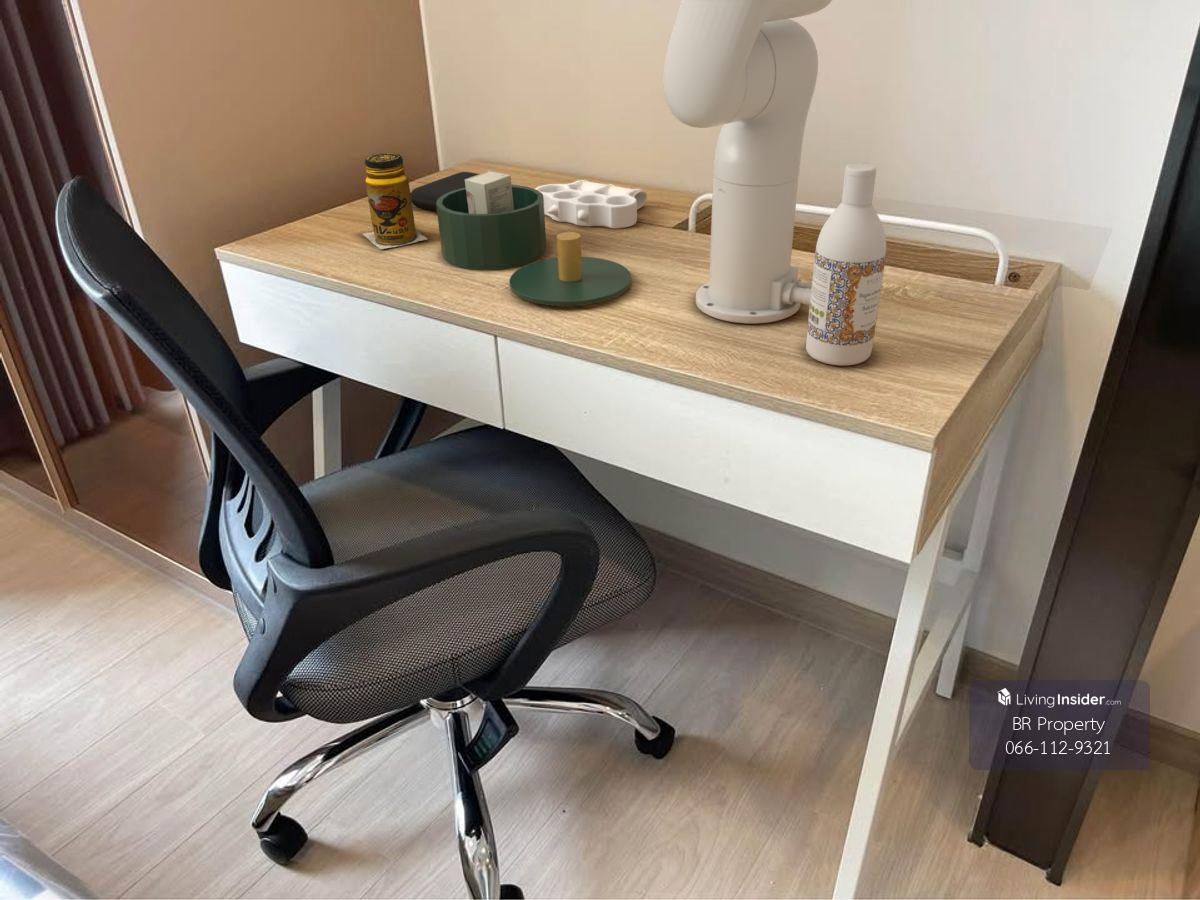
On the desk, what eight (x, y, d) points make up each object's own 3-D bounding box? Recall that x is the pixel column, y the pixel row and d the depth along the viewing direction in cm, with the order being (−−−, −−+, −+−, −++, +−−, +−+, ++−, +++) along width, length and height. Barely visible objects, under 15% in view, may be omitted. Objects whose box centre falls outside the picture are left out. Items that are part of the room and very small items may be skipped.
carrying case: (460, 184, 158) (399, 207, 148) (458, 167, 157) (397, 188, 147) (507, 193, 153) (448, 217, 143) (506, 175, 152) (446, 198, 141)
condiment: (381, 250, 131) (367, 165, 124) (361, 235, 137) (347, 153, 130) (428, 240, 134) (418, 157, 127) (407, 225, 140) (396, 145, 134)
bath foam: (838, 373, 95) (863, 180, 84) (791, 350, 100) (809, 164, 89) (884, 356, 98) (913, 167, 87) (837, 334, 103) (859, 153, 92)
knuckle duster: (664, 209, 143) (612, 236, 133) (571, 193, 152) (516, 217, 142) (664, 188, 142) (611, 213, 132) (570, 173, 151) (515, 195, 140)
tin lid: (653, 276, 119) (653, 226, 116) (590, 319, 108) (588, 265, 104) (554, 257, 126) (551, 210, 123) (485, 296, 115) (480, 245, 111)
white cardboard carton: (497, 240, 132) (491, 169, 126) (518, 246, 129) (513, 174, 124) (470, 250, 128) (462, 178, 123) (491, 256, 126) (485, 183, 121)
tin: (566, 244, 131) (563, 191, 127) (506, 277, 121) (501, 221, 117) (485, 229, 138) (480, 179, 134) (421, 259, 127) (414, 206, 123)
